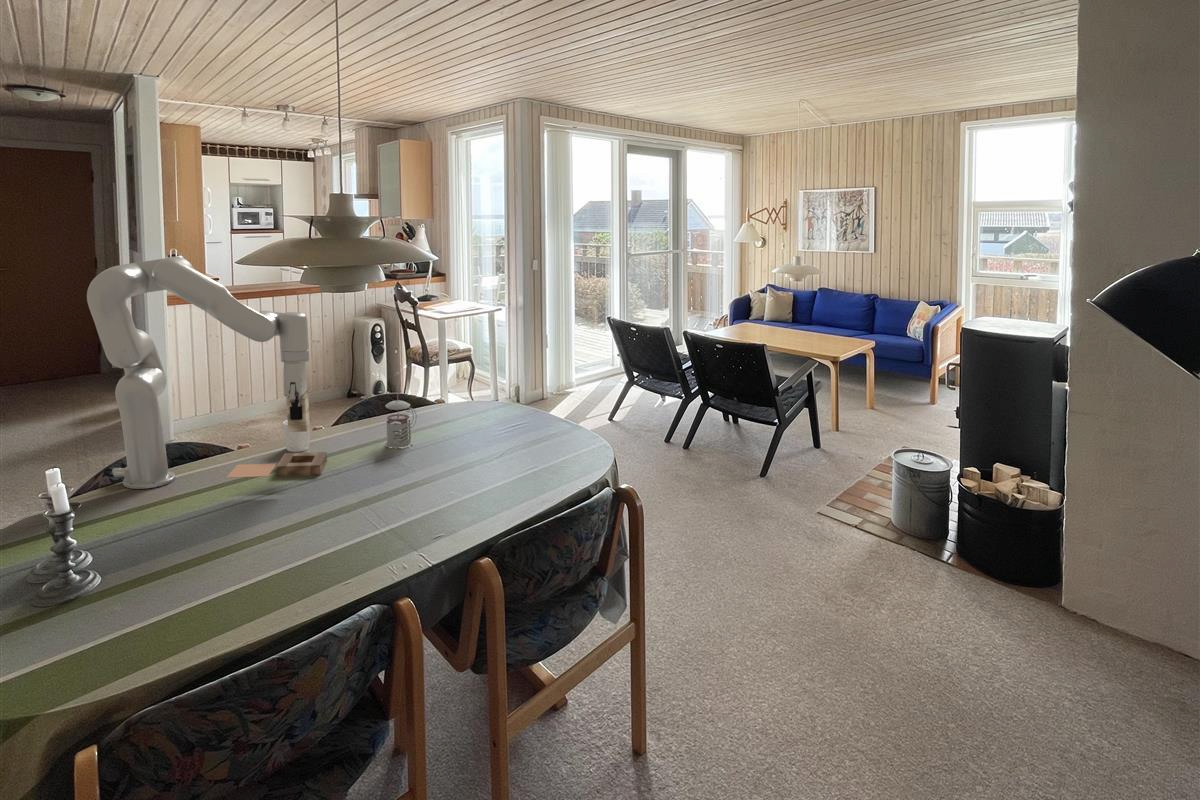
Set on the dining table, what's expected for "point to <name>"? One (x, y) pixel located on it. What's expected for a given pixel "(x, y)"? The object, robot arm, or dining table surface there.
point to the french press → (395, 438)
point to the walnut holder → (301, 464)
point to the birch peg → (304, 423)
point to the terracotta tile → (251, 470)
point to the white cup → (296, 439)
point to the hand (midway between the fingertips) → (298, 416)
